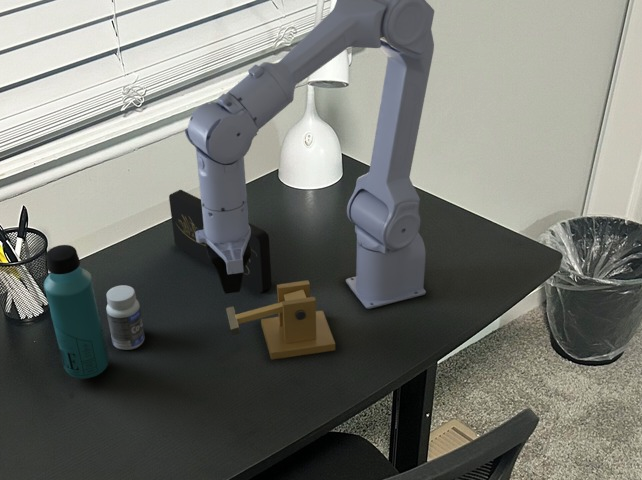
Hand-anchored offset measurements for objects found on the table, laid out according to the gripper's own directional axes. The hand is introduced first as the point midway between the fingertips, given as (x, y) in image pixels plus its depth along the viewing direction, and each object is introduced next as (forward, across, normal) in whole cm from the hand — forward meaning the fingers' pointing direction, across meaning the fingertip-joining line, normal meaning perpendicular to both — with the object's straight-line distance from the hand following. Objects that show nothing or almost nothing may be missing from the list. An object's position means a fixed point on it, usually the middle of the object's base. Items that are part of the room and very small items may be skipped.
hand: (231, 289), depth 123 cm
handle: (+5, 0, +5) cm, 7 cm away
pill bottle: (+10, -5, -15) cm, 19 cm away
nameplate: (+10, -21, +1) cm, 23 cm away
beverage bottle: (+10, +1, -21) cm, 23 cm away
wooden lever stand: (+10, 0, +9) cm, 13 cm away
